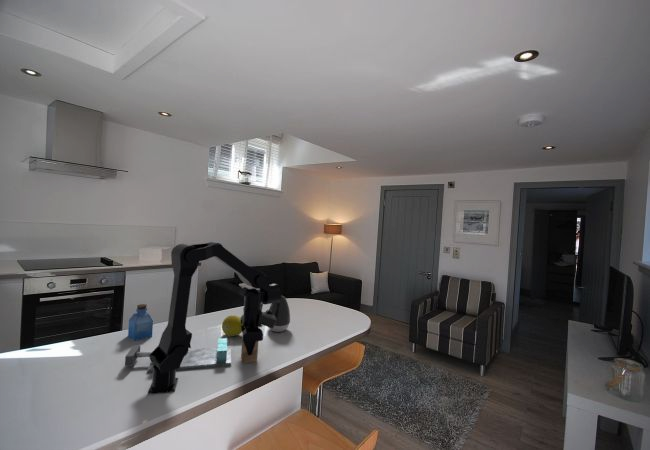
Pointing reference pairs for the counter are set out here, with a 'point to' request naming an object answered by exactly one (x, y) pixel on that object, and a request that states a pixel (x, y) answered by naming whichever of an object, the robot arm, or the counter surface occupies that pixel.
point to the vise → (205, 357)
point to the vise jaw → (135, 355)
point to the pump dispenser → (280, 314)
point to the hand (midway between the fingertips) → (249, 351)
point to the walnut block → (244, 354)
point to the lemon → (232, 325)
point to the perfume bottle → (140, 324)
